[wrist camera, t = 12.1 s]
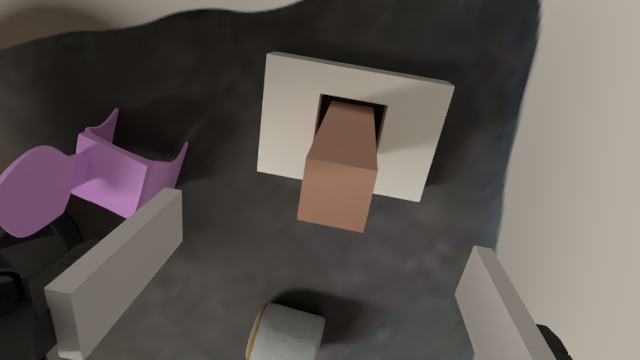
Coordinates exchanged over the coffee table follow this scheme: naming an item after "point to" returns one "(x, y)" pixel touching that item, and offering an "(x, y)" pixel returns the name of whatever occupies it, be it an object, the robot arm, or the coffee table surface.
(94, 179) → the toy chair
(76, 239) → the robot arm
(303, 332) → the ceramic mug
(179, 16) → the coffee table surface
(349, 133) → the peg
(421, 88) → the socket block
